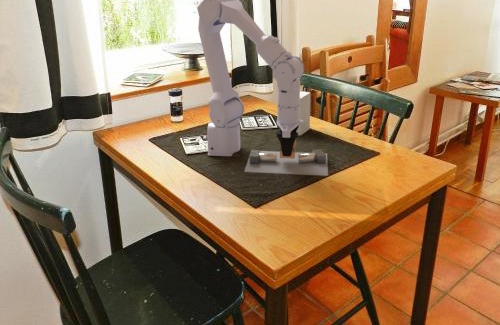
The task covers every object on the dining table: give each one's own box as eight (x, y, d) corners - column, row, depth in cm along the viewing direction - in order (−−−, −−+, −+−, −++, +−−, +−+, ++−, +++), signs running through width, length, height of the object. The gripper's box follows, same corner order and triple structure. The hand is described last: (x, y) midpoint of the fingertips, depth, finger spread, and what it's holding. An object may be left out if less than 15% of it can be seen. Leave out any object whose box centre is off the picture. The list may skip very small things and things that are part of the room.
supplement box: (310, 129, 150) (311, 92, 145) (300, 136, 145) (301, 98, 139) (290, 125, 154) (291, 89, 148) (280, 132, 148) (280, 94, 143)
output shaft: (300, 169, 123) (300, 158, 121) (295, 162, 127) (296, 151, 125) (325, 166, 124) (326, 155, 123) (320, 160, 128) (320, 149, 127)
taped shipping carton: (279, 157, 122) (280, 140, 120) (280, 152, 126) (281, 135, 124) (294, 158, 122) (295, 141, 120) (295, 152, 125) (296, 135, 123)
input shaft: (249, 167, 125) (249, 156, 123) (251, 160, 128) (251, 149, 127) (275, 168, 124) (275, 157, 122) (277, 161, 128) (277, 150, 126)
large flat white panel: (244, 175, 120) (244, 171, 120) (251, 153, 133) (251, 150, 132) (327, 179, 118) (328, 175, 117) (326, 156, 130) (327, 153, 130)
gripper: (303, 114, 111) (301, 164, 116) (304, 96, 124) (302, 142, 129) (274, 113, 112) (273, 163, 117) (278, 96, 125) (278, 141, 130)
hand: (287, 152), depth 123 cm, fingers closed on taped shipping carton, 4 cm apart
